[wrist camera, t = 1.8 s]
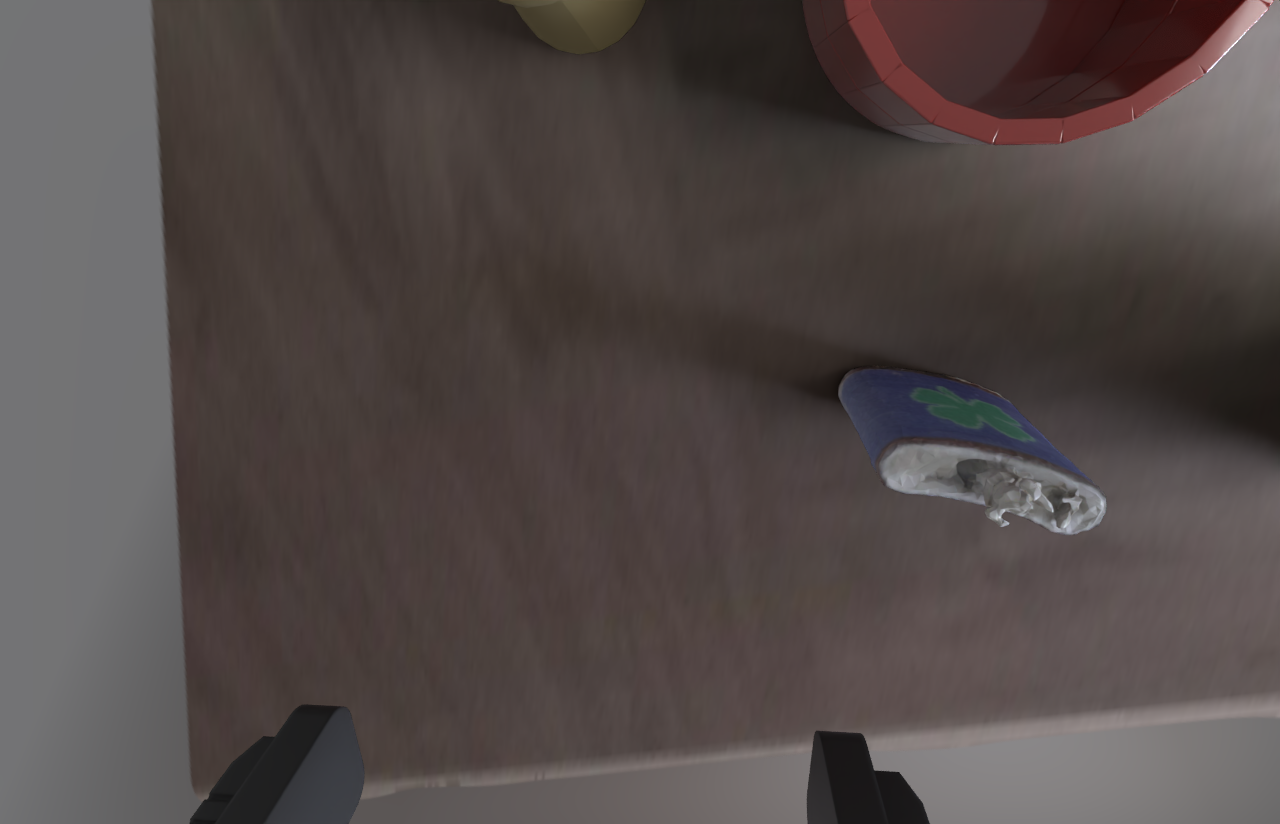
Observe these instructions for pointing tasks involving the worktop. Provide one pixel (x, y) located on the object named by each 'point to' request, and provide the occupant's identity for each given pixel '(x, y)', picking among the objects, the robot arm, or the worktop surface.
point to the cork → (579, 21)
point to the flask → (966, 448)
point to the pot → (1018, 61)
